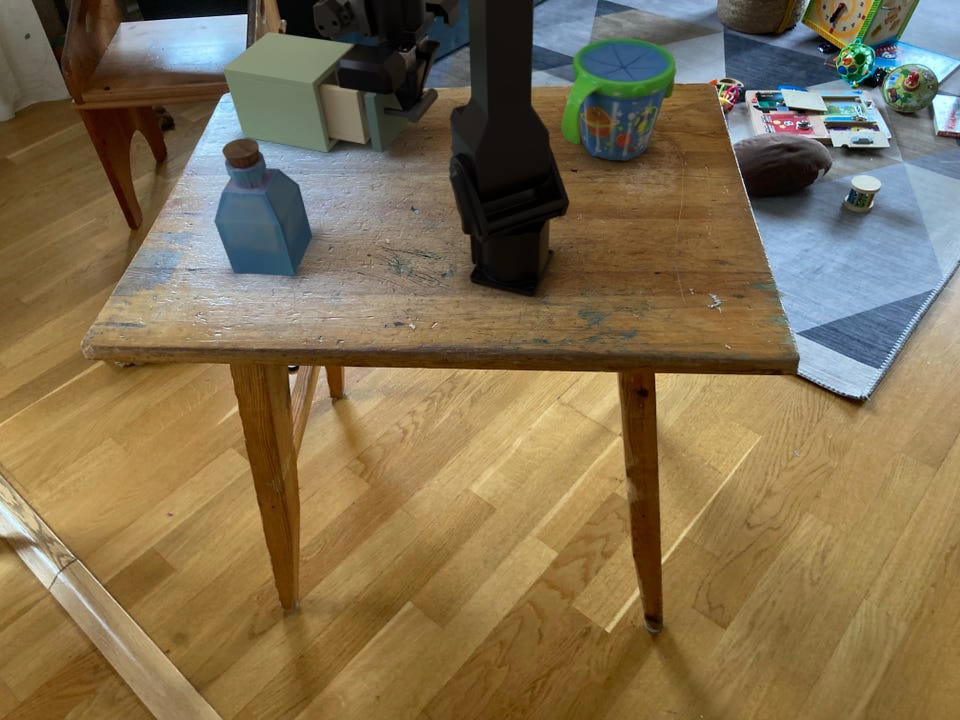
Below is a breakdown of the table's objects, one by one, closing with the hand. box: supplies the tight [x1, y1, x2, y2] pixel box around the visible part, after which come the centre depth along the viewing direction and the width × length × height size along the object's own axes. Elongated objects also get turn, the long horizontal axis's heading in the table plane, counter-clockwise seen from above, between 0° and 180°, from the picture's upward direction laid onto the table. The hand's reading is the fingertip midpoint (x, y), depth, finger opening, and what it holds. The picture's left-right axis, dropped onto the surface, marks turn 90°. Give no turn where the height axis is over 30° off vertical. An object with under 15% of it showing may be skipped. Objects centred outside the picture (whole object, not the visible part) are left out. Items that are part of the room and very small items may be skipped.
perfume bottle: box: [214, 137, 313, 277], centre depth 70 cm, size 6×6×12 cm
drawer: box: [317, 70, 439, 154], centre depth 85 cm, size 15×8×7 cm, turn 69°
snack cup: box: [560, 38, 677, 162], centre depth 81 cm, size 16×10×10 cm
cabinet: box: [222, 31, 355, 153], centre depth 88 cm, size 12×10×9 cm
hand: (410, 113), depth 84 cm, fingers closed, pressing on drawer
